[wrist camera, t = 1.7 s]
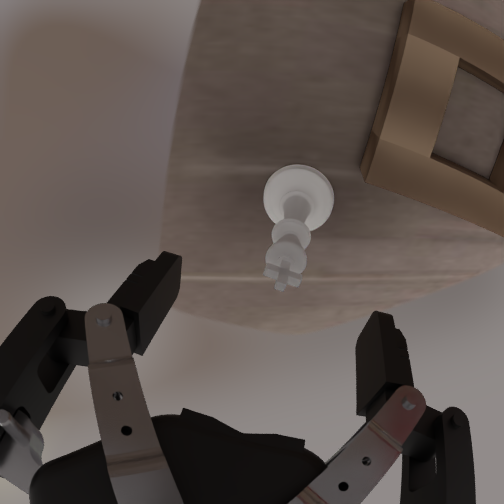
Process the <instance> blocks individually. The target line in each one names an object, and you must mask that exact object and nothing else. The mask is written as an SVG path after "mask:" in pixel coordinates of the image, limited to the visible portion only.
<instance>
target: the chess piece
mask: <svg viewBox="0 0 504 504" xmlns="http://www.w3.org/2000/svg"><path fill="white" fill-rule="evenodd" d="M263 201H264V207H265V210H266V212H267V214H268V216H269V217H270V219H271V220H272V221H273V222H274V223H275V224H276V225H275V226H274V227H273V230H272V240H273V243H274V244H272V245H271V246H270V248H269V249H268V251H267V253H266V257H265V260H266V264H267V265H266V267H265V270H264V273H263V275H264V276H267V277H269V278H272V279H275V280H276V282H275V286H274V289H277V290H279V291H282V292H284V290H285V287H286V285H287V284H289V285H292V286H294V287H297V288H298V287H299V285H300V283H301V281H302V275H301V274H300V273H302V272H303V271H304V269H305V267H306V265H307V256H306V253H305V249H306V247H307V246H308V245H309V243H310V240H311V233H310V231H312V230H315V229H317V228H318V227H320V226H321V225H323V224H324V223H325V222H326V220H327V219H328V218H329V216H330V214H331V212H332V208H333V205H334V192H333V188H332V186H331V184H330V182H329V180H328V179H327V178H326V177H325V176H324V175H323V174H322V173H321V172H320V171H318V170H317V169H315V168H313V167H310V166H307V165H301V164H294V165H288V166H285V167H283V168H281V169H279V170H277V171H276V172H275V173H273V174H272V175H271V177H270V178H269V179H268V181H267V183H266V185H265V189H264V197H263Z"/></svg>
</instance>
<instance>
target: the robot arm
mask: <svg viewBox="0 0 504 504" xmlns="http://www.w3.org/2000/svg"><path fill="white" fill-rule="evenodd" d="M181 266H182V257H181V256H179V255H176V254H173V253H169V252H166V251H163V252H162V253H161V254H160V255H159V257H158V258H157V259H156V260H155V261H153V260H150V259H148V260H146V261H145V262H143V263H141V264H139V265H138V266H137V267H136V268H135V269H134V271H133V272H132V274H130V275H129V276H128V278H127V280H125V281H124V282H123V284H122V285H121V286H120V287H119V289H118V290H117V291H116V292H115V293H114V295H113V296H112V297H111V298H110V300H109V301H108V302H107V303H101V304H97V305H95V306H92V307H91V308H90V309H89V310H88V311H77V310H68V309H66V306H65V303H64V301H63V300H62V299H60V298H58V297H54V296H49V297H44V298H41V299H40V300H38V301H37V302H36V303H35V304H34V305H33V306H32V307H31V309H30V310H29V311H28V312H27V314H25V316H24V317H23V318H22V319H21V321H20V322H19V323H18V324H17V325H16V327H15V328H14V329H13V331H12V332H11V333H10V334H9V336H8V337H7V338H6V339H5V341H4V342H3V343H2V345H1V346H0V477H2V478H5V479H6V480H8V481H9V482H11V483H12V484H14V485H15V486H17V487H18V488H20V489H21V490H23V491H24V492H26V493H27V494H29V499H30V504H360V503H361V502H362V501H363V500H364V499H365V498H366V496H368V494H369V493H370V492H371V491H372V490H373V488H374V487H375V486H376V485H377V484H378V482H379V481H380V480H381V479H382V477H383V476H384V475H385V474H386V472H387V471H388V470H389V468H390V467H391V466H392V465H393V463H394V462H395V461H396V459H397V458H398V457H399V455H400V454H402V482H401V498H400V504H476V495H475V474H474V462H473V451H472V442H471V434H470V427H469V421H468V418H467V416H466V415H465V413H464V412H463V411H462V410H461V409H459V408H457V407H449V408H447V409H446V410H445V411H443V412H440V411H437V410H435V409H433V408H431V407H429V406H427V405H426V401H425V398H424V396H423V395H422V393H421V392H420V391H419V390H418V389H416V388H414V383H413V377H412V371H411V365H410V360H409V354H408V351H407V344H406V339H405V337H404V336H403V334H402V332H401V331H400V330H399V329H396V328H395V325H394V320H393V316H392V315H390V314H386V313H383V312H379V311H374V312H373V313H372V315H371V316H370V318H369V320H368V322H367V323H366V325H365V327H364V329H363V330H362V332H361V334H360V336H359V337H358V340H357V344H356V385H357V386H356V389H357V390H356V392H357V393H356V394H357V409H356V413H357V415H359V416H366V423H365V424H363V425H362V426H361V428H360V429H359V430H358V431H357V432H356V433H355V434H354V435H353V436H352V437H351V438H350V439H349V440H348V441H347V442H346V443H345V444H344V445H343V446H342V447H341V448H340V449H339V451H337V452H336V453H335V454H334V455H333V456H332V457H331V458H330V459H329V460H328V461H327V462H324V461H323V460H322V459H320V458H319V457H318V456H317V455H315V454H314V453H313V452H311V451H309V450H307V449H305V448H304V445H305V440H303V439H298V438H293V437H288V436H283V435H278V434H246V433H241V432H239V431H237V430H235V429H233V428H231V427H230V426H228V425H226V424H224V423H222V422H220V421H218V420H217V419H215V418H213V417H210V416H207V415H204V414H201V413H198V412H194V411H191V410H189V409H185V408H183V410H182V412H181V415H175V414H174V415H173V414H172V415H168V414H167V415H159V416H154V417H150V414H149V411H148V408H147V405H146V401H145V398H144V395H143V391H142V388H141V384H140V380H139V377H138V373H137V369H136V365H135V362H134V358H132V355H133V353H136V354H139V355H141V356H143V354H144V352H145V350H146V348H147V347H148V345H149V344H150V342H151V340H152V338H153V337H154V335H155V333H156V332H157V330H158V328H159V327H160V325H161V323H162V321H163V320H164V318H165V317H166V315H167V313H168V312H169V310H170V308H171V307H172V305H173V303H174V302H175V300H176V298H177V296H178V293H179V289H180V279H181ZM76 365H80V366H87V367H88V372H89V379H90V386H91V392H92V397H93V403H94V408H95V413H96V418H97V423H98V427H99V432H100V436H101V440H100V441H98V442H96V443H93V444H91V445H88V446H86V447H84V448H81V449H79V450H76V451H74V452H72V453H69V454H67V455H64V456H62V457H59V458H56V459H54V460H51V461H49V462H47V463H45V464H44V465H43V464H42V460H41V459H42V458H41V456H42V451H43V448H44V440H43V436H42V434H41V432H40V431H39V430H40V428H41V426H42V424H43V423H44V421H45V419H46V417H47V415H48V413H49V412H50V410H51V408H52V406H53V404H54V402H55V401H56V399H57V397H58V395H59V394H60V392H61V390H62V389H63V387H64V385H65V383H66V382H67V380H68V378H69V377H70V375H71V373H72V371H73V370H74V368H75V366H76ZM435 457H436V460H435ZM435 462H436V463H435Z"/></svg>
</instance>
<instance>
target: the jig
mask: <svg viewBox="0 0 504 504" xmlns="http://www.w3.org/2000/svg"><path fill="white" fill-rule="evenodd" d="M457 67H460V68H461V69H463V70H465V71H467V72H469V73H471V74H473V75H474V76H476V77H478V78H480V79H481V80H483V81H485V82H486V83H488V84H490V85H491V86H493V87H495V88H496V89H498V90H499V91H501V92H503V93H504V40H503V39H501V38H500V37H498V36H497V35H495V34H494V33H492V32H490V31H489V30H487V29H485V28H484V27H482V26H480V25H479V24H477V23H475V22H473V21H472V20H470V19H468V18H466V17H464V16H463V15H461V14H459V13H457V12H455V11H453V10H451V9H449V8H447V7H445V6H443V5H441V4H439V3H437V2H435V1H432V0H408V1H406V2H405V3H404V5H403V10H402V15H401V19H400V24H399V28H398V33H397V37H396V41H395V46H394V50H393V54H392V58H391V62H390V66H389V70H388V74H387V77H386V81H385V85H384V89H383V92H382V96H381V99H380V103H379V106H378V110H377V113H376V117H375V120H374V124H373V127H372V130H371V133H370V137H369V140H368V143H367V146H366V150H365V153H364V156H363V159H362V162H361V165H360V170H361V173H362V175H363V178H364V181H365V183H368V184H371V185H374V186H377V187H380V188H383V189H386V190H389V191H392V192H395V193H398V194H400V195H403V196H406V197H409V198H411V199H414V200H417V201H419V202H422V203H425V204H427V205H430V206H432V207H435V208H438V209H440V210H443V211H445V212H448V213H450V214H452V215H455V216H457V217H460V218H462V219H464V220H467V221H469V222H471V223H474V224H476V225H478V226H481V227H483V228H485V229H487V230H489V231H492V232H494V233H496V234H498V235H500V236H502V237H504V140H503V143H502V146H501V149H500V152H499V155H498V157H497V160H496V163H495V166H494V168H493V171H492V173H491V176H490V178H489V180H488V179H486V178H484V177H482V176H480V175H479V174H477V173H475V172H473V171H470V170H468V169H466V168H464V167H462V166H460V165H458V164H456V163H454V162H452V161H449V160H447V159H445V158H443V157H440V156H438V155H436V154H434V153H432V150H433V148H434V145H435V142H436V139H437V136H438V133H439V130H440V127H441V124H442V120H443V117H444V114H445V111H446V107H447V104H448V101H449V97H450V94H451V90H452V86H453V83H454V79H455V75H456V71H457Z"/></svg>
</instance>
